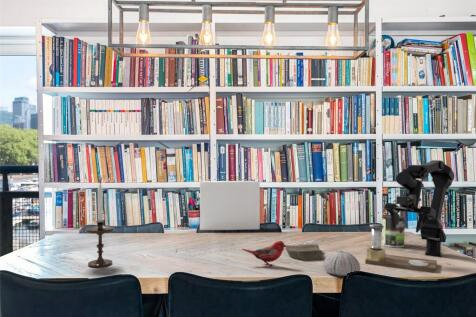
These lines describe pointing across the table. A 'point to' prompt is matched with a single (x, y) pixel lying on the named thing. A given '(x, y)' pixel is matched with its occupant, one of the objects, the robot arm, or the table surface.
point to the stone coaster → (417, 263)
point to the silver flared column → (376, 236)
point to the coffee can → (392, 232)
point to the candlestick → (100, 233)
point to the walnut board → (404, 263)
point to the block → (229, 205)
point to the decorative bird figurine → (269, 252)
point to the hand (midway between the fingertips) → (405, 230)
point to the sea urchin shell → (341, 263)
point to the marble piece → (305, 252)
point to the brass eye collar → (376, 254)
